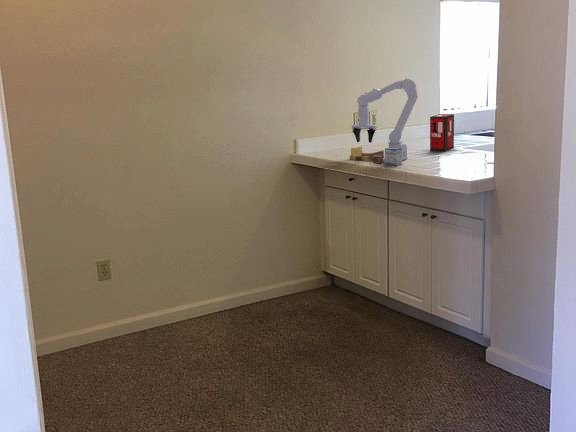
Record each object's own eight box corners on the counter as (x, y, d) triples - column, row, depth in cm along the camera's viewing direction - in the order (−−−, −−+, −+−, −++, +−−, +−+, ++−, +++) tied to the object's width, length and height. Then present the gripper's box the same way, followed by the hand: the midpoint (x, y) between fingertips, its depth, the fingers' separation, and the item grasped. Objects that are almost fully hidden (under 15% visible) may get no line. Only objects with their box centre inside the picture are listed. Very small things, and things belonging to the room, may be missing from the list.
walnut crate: (382, 163, 341) (382, 155, 340) (380, 164, 338) (380, 156, 337) (375, 162, 343) (375, 155, 342) (373, 164, 339) (372, 156, 338)
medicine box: (384, 164, 335) (384, 148, 333) (389, 163, 338) (389, 147, 336) (397, 165, 329) (396, 149, 327) (402, 164, 332) (401, 148, 330)
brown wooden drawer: (384, 159, 353) (384, 150, 352) (371, 162, 343) (371, 153, 342) (362, 157, 362) (362, 149, 361) (348, 161, 352) (348, 152, 351)
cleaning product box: (439, 147, 388) (439, 114, 384) (453, 147, 384) (454, 114, 379) (430, 151, 375) (430, 116, 370) (444, 151, 370) (445, 116, 366)
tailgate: (362, 157, 360) (362, 146, 359) (352, 160, 353) (352, 148, 351) (360, 157, 361) (360, 146, 359) (350, 160, 353) (350, 148, 352)
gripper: (378, 116, 347) (379, 141, 350) (356, 116, 356) (356, 140, 359) (372, 117, 342) (372, 143, 345) (349, 117, 351) (350, 142, 354)
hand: (364, 142), depth 352 cm, fingers open, 7 cm apart
